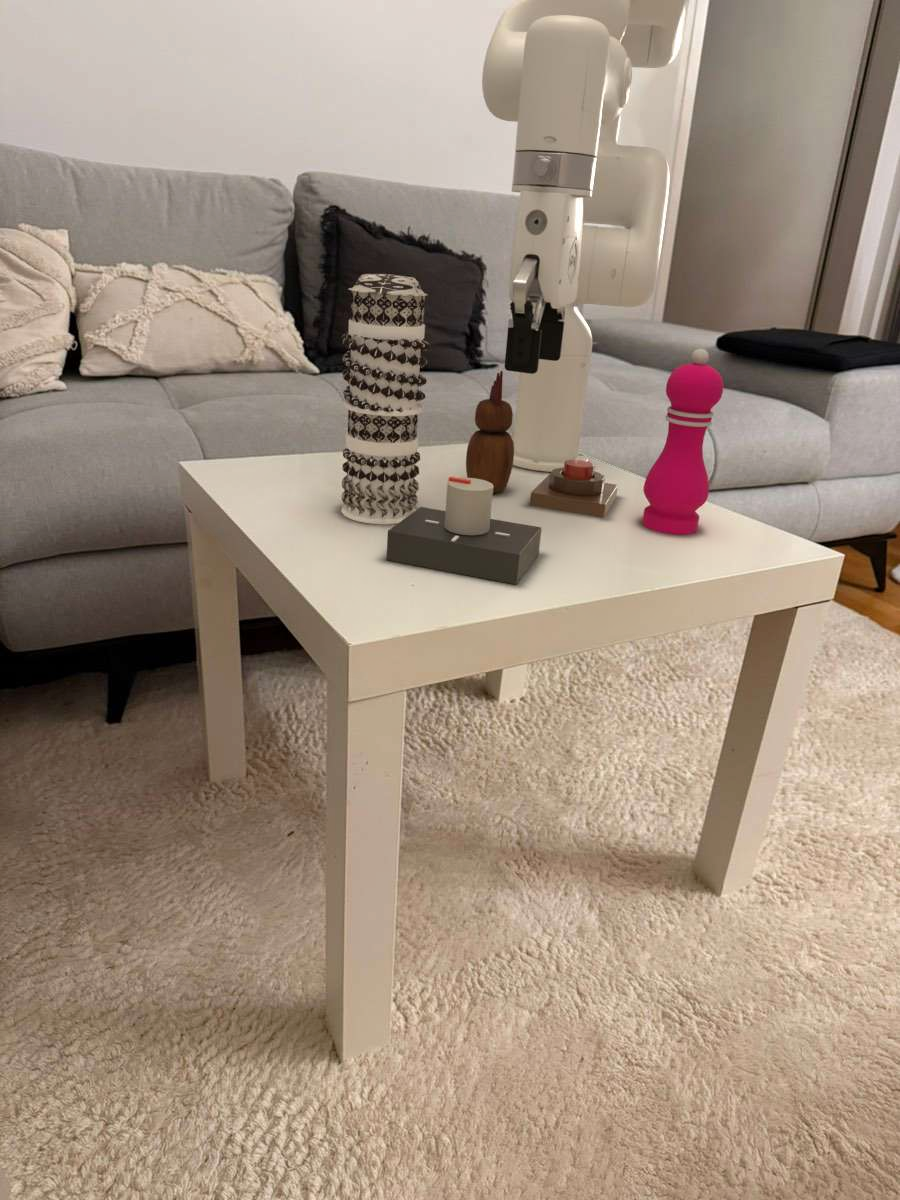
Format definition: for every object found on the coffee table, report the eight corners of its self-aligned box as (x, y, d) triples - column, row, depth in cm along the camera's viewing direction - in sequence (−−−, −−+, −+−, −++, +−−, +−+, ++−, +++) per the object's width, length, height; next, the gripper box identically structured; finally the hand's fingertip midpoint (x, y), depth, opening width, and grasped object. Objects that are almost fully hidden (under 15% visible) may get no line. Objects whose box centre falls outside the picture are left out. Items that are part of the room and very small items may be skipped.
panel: (418, 533, 90) (420, 505, 89) (538, 555, 86) (542, 525, 85) (386, 560, 82) (387, 529, 81) (516, 584, 78) (519, 552, 77)
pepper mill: (633, 529, 97) (663, 348, 89) (642, 513, 103) (671, 342, 95) (698, 541, 94) (734, 356, 87) (703, 523, 101) (738, 349, 93)
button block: (547, 486, 111) (550, 460, 110) (616, 497, 109) (620, 470, 107) (529, 506, 102) (532, 477, 101) (603, 518, 100) (607, 489, 98)
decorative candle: (361, 529, 90) (369, 277, 80) (324, 504, 97) (328, 270, 87) (435, 520, 94) (451, 281, 85) (394, 497, 101) (406, 274, 92)
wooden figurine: (505, 499, 104) (518, 374, 98) (459, 494, 105) (469, 369, 99) (513, 485, 110) (525, 367, 104) (469, 480, 111) (479, 362, 105)
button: (565, 471, 106) (567, 458, 106) (594, 476, 105) (596, 462, 105) (560, 478, 103) (561, 464, 102) (589, 482, 102) (591, 468, 101)
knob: (494, 526, 84) (499, 479, 82) (481, 538, 80) (485, 489, 79) (453, 518, 86) (456, 472, 84) (437, 530, 82) (441, 482, 80)
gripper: (573, 173, 71) (549, 382, 78) (608, 185, 86) (586, 359, 93) (487, 168, 73) (471, 372, 80) (536, 180, 88) (519, 351, 95)
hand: (533, 365), depth 86 cm, fingers open, 9 cm apart
